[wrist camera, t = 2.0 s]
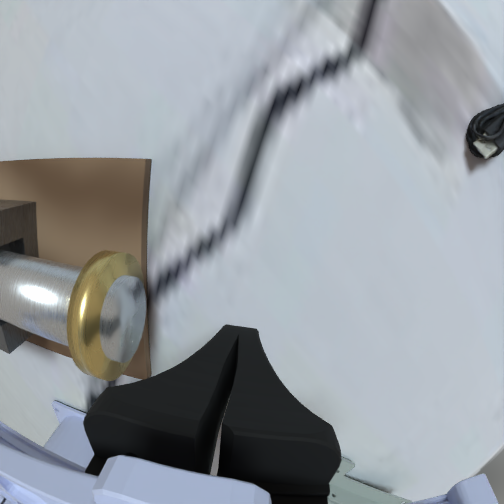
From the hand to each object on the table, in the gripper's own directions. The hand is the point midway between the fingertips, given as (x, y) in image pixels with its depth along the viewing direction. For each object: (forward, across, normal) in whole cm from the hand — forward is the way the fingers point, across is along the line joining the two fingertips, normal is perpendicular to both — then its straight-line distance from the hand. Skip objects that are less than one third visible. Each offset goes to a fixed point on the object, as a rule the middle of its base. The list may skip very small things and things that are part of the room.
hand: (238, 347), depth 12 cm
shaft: (+4, +13, 0) cm, 14 cm away
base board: (+5, +19, 0) cm, 20 cm away
